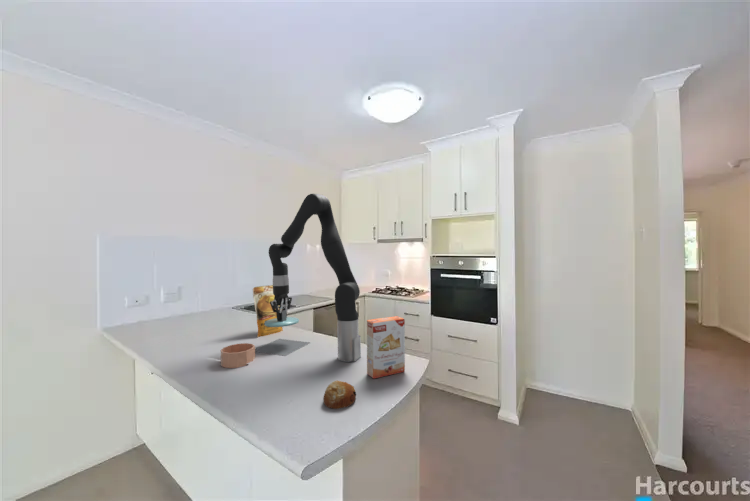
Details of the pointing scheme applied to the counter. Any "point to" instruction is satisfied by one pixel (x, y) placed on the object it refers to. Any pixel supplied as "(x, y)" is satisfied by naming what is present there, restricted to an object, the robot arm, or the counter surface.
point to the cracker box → (385, 346)
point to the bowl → (237, 355)
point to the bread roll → (339, 395)
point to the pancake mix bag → (264, 309)
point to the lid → (282, 321)
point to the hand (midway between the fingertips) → (282, 319)
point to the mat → (281, 347)
